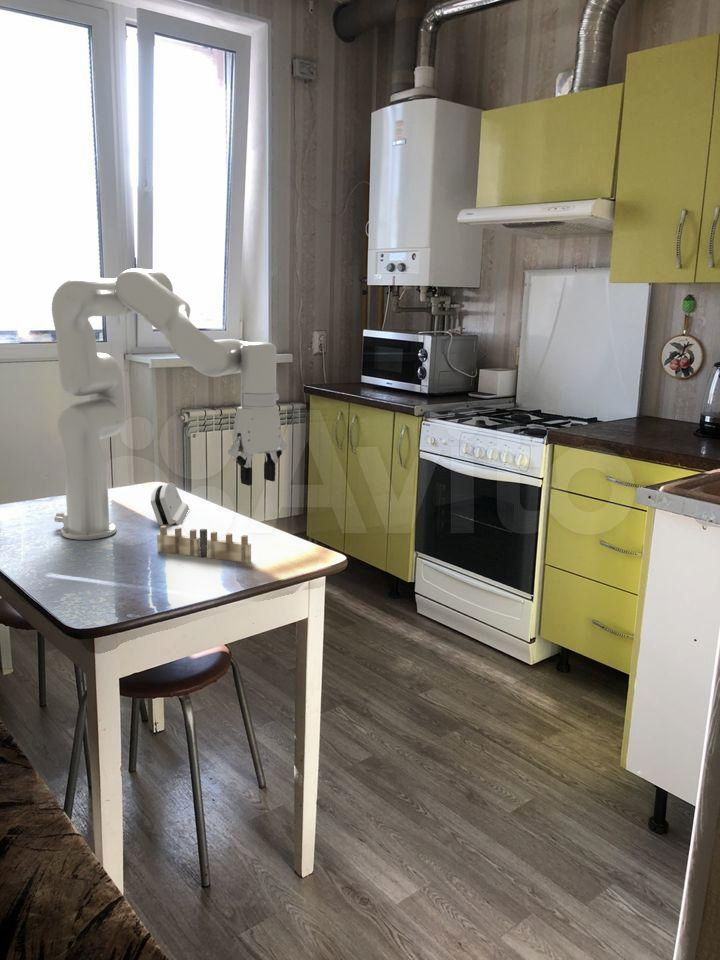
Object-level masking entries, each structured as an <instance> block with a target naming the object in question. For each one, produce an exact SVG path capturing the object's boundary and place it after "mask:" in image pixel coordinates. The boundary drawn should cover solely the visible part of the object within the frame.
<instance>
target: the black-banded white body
mask: <svg viewBox="0 0 720 960" xmlns="http://www.w3.org/2000/svg"><path fill="white" fill-rule="evenodd" d="M150 506H151V508H152V510H153V514H154V517H155V519H156V521H157V524H158V525H160V526H167V525H168V526H170V525H173V524H176V525H177V526H179V525H183V523H184V521H185V520H184V519H186V518H185V517H187V516H186V514H187V512H188V510H190V507H189V505H188V503H186V502H183V501H182V498H181V496H180V494H179V492H178V489H177V486H176V485H175V483H172V482H170V483H165V484H163V485H159V486H157V487H155V488H154V489H153V491H152V493H151V497H150ZM188 513H189V512H188ZM187 515H188V514H187ZM183 520H184V521H183Z"/></svg>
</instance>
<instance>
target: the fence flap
mask: <svg viewBox="0 0 720 960" xmlns="http://www.w3.org/2000/svg"><path fill="white" fill-rule="evenodd" d="M240 538H241V539H240V540H241V541H233V533H229V532H227V533H226V534H225V540H221V539H218V531H211V532H210V538H208V539H207V559H208V558H209V559H216V560H223V561H231V562H238V563H245V564H246V563H248V564H249V563H251V562H252V543H248V541H249V536H248V535H247V534H242V535H241V536H240Z"/></svg>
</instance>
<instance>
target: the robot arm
mask: <svg viewBox="0 0 720 960" xmlns="http://www.w3.org/2000/svg"><path fill="white" fill-rule="evenodd" d="M134 313H135V315H136V314H137V316H139V317H141V318H142V319H143V320H144V321H146V322H147V323H149V325H151V326H153V327H154V328H155V329H156V330H158V331H159V332H160V333H161V334H163V335H164V337H165V340H166V342H167V343H168V345H169V348H170V349H171V350H172V352H174V353H175V355H177V357H179V358H180V359H181V360H182V361H184V362H185V363H186V364H187V365H189V366H190V367H192V368H193V369H195V371H197V372H199V374H203V375H204V376H206V377H211V378H215V377H216V378H217V377H223V376H228V375H233V374H234V375H235V374H240V406H238V407H237V408H236V413H235V417H234V423H233V424H234V425H233V434H232V436H233V437H232V441H233V442H232V445H231V446H230V448H229V449H228V451H227V454H228V455H229V457H231V458H233V460H234V461H235V462H236V463H237V465H238V466H239V467H240V469H239V470H240V483H241V484H243V485H245V486H251V485H253V468H252V467H251V466H250V465H251V462H252V459H253V456H254V455H257V454H264V456H265V461H264V463H263V479H264V480H266V481H269V482H275V481H276V464H277V463H278V462H279V459H280V457H281V456H282V454H283V452H284V451H285V449H286V448H287V447H288V445H287V443H286V441H285V440H284V438H282V428H281V427H282V426H281V416H280V410H279V407H278V405H277V401H278V400H279V399H280V394H279V393H277V348H276V347H277V346H276V345H275V344H274V343H271V342H267V341H244V340H241V339H236V338H226V339H223V338H222V339H212V338H211V337H209V336H207V335H206V334H205V333H204V332H203V331H201V330H200V329H199V328H197V326H195V325H194V324H193V322H192V321H191V320H190V319H189V318H190V315H191V307H190V305H189V303H188V302H187V301H186V300H184V299H182V298H181V297H179V296H178V295H177V294H175V293H174V289H173V284H172V282H171V280H170V279H169V278H168V276H167V275H166V274H165V273H163V272H161V271H160V270H157V269H150V268H149V269H147V268H130V269H129V268H128V269H127V270H124V271H122V272H121V273H120V274H119V275H117V277H115V278H114V277H113V278H109V277H108V278H107V277H105V278H104V277H93V276H91V277H90V276H88V277H87V276H86V277H76V278H72V279H69V280H67V281H66V282H65V281H64V282H63V283H62V284H60V286H59V287H58V288H57V290H56V291H55V293H54V295H53V297H52V300H51V314H52V319H53V324H54V325H53V326H54V330H55V331H54V332H55V337H56V348H57V359H58V370H59V379H60V385H61V387H62V389H63V391H65V393H67V394H68V395H70V396H72V397H85V396H89V399H88V400H83V401H80V402H79V401H77V402H75V403H71V404H69V405H67V406H66V407H64V408H63V409H62V411H61V412H59V413H60V414H59V416H58V419H57V430H58V434H59V438H60V442H61V447H62V452H63V453H62V455H63V463H64V465H63V466H64V480H65V483H64V484H65V497H66V498H65V500H66V503H65V504H66V512H61V511H57V512H56V513H55V514H56V515H55V517H54V522H55V523H62V524H63V526H62V528H61V529H60V534H61V536H62V537H64V538H66V539H70V540H78V541H79V540H80V541H81V540H82V541H87V540H97V539H103V538H106V537H110V536H112V535H114V534H115V533H116V531H117V526H116V524H115V523H112V522H110V513H109V512H110V511H109V509H110V508H109V488H108V487H109V484H108V463H107V456H106V453H105V450H104V447H103V445H102V443H101V440H103V439H107V438H110V437H113V436H115V435H118V434H119V433H121V431H122V430H123V428H124V426H125V424H126V418H127V417H126V415H127V414H126V413H127V411H126V400H125V389H124V388H125V386H124V376H123V372H122V368H121V366H120V364H119V362H118V361H117V360H116V359H115V358H114V357H113V356H112V355H110V354H108V353H104V352H98V350H97V349H98V348H97V337H96V333H95V331H94V330H95V329H94V328H93V326H92V323H90V320H89V318H91V317H115V316H117V317H118V316H123V315H129V314H134Z"/></svg>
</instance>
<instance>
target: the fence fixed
mask: <svg viewBox="0 0 720 960" xmlns="http://www.w3.org/2000/svg"><path fill="white" fill-rule="evenodd" d="M182 529H183V528H182V527H175V528H174V534H171V533H168V526H167V525H160V527H159V532H158V533H157V534H156V541H157V542H156V545H157V552H158V553H159V552H160V553H165V554H166V553H169V554H175V555H183V556H190V557H200V558H204V559H205V558H208V553H207V540H208V529H207V528H201V529H199V536H198V537H197V529H195V528H192V529H190V530H189V535H183V534H182Z"/></svg>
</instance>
